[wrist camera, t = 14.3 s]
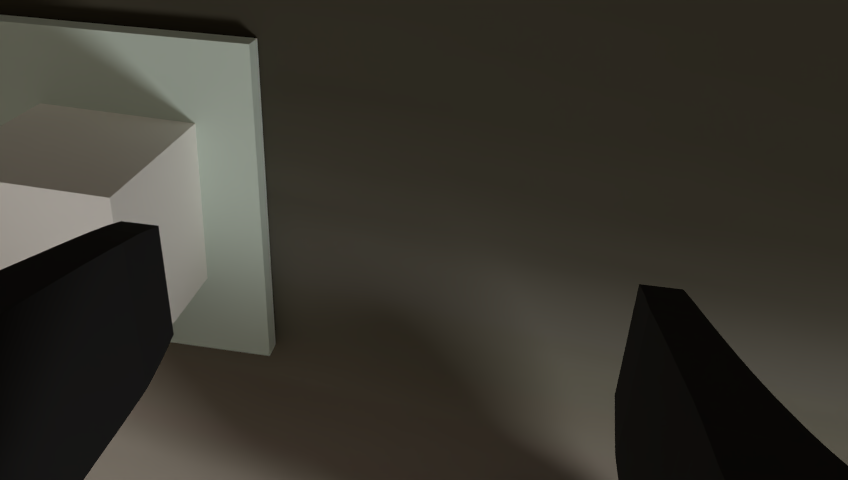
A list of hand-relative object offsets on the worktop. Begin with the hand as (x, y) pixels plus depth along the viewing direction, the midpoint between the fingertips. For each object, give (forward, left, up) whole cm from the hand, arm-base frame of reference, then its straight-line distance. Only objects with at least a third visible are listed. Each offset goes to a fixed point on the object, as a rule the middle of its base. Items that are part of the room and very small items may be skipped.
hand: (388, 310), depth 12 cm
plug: (-5, +10, -9) cm, 14 cm away
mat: (-4, +10, -10) cm, 14 cm away
